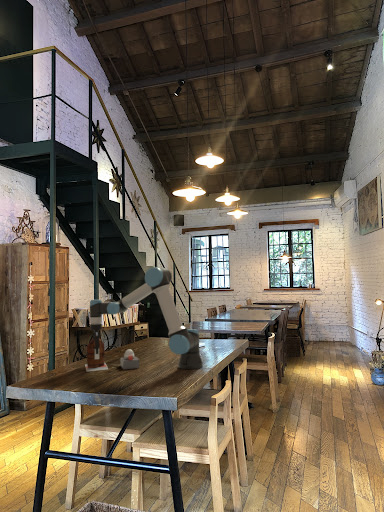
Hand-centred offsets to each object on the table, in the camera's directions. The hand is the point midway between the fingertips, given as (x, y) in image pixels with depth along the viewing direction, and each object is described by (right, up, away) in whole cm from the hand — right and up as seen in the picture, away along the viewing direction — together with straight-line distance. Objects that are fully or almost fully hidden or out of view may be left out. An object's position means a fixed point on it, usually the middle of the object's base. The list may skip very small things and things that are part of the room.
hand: (96, 357), depth 242 cm
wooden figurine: (0, -6, -1) cm, 6 cm away
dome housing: (+22, -5, -3) cm, 23 cm away
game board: (0, -6, 0) cm, 6 cm away
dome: (+21, 0, -1) cm, 21 cm away
